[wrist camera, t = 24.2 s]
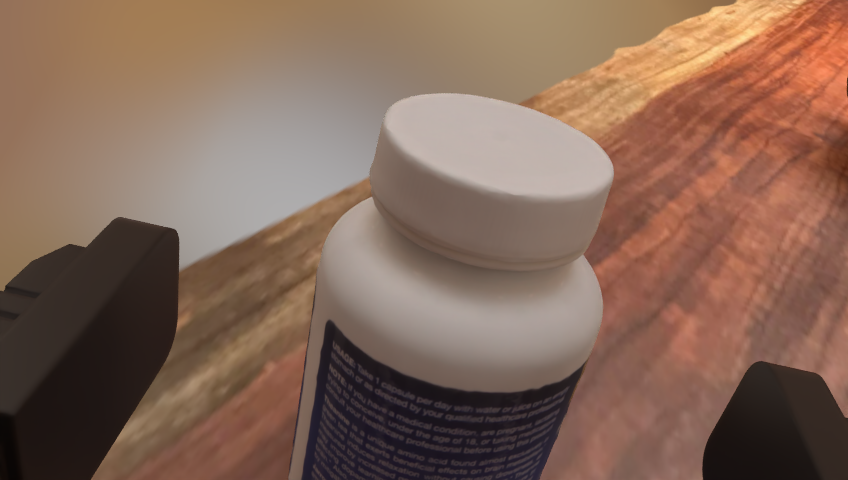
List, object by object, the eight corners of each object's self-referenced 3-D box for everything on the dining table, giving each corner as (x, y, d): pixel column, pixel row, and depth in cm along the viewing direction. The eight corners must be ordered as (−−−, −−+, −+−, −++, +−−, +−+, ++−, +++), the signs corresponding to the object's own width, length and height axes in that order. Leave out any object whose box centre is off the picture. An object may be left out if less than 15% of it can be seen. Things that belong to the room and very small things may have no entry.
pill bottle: (550, 590, 16) (728, 218, 11) (314, 650, 14) (403, 226, 9) (458, 413, 20) (558, 84, 15) (265, 440, 18) (308, 67, 13)
